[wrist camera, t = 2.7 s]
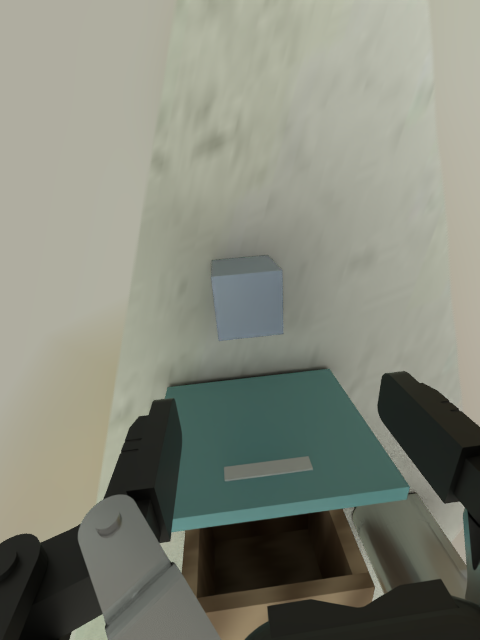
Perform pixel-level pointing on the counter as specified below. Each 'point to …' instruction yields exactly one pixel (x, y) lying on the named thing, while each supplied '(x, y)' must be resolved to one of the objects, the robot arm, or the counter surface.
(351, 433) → the drawer
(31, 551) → the robot arm
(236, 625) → the cabinet
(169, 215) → the counter surface
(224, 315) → the slate-blue block
